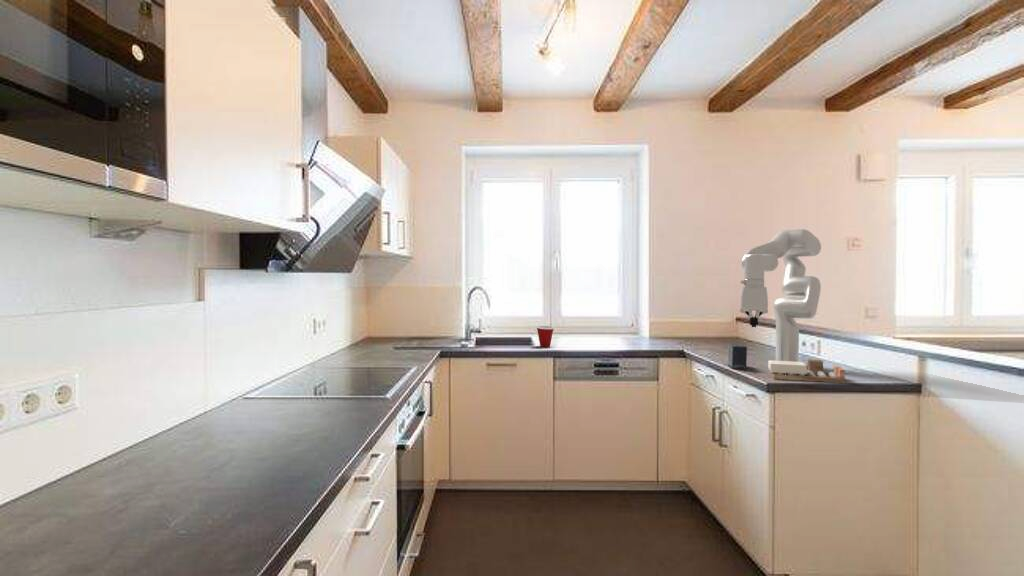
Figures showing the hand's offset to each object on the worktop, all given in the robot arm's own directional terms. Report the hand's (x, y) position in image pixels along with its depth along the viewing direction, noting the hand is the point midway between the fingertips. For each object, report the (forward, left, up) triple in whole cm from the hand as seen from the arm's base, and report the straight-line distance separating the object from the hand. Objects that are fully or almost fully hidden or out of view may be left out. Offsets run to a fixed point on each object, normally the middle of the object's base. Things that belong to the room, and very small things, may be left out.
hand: (753, 326), depth 217 cm
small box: (-17, -5, -21) cm, 27 cm away
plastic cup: (-51, -107, -21) cm, 121 cm away
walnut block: (-10, +25, -21) cm, 34 cm away
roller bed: (0, +20, -21) cm, 28 cm away
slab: (0, +13, -18) cm, 22 cm away
